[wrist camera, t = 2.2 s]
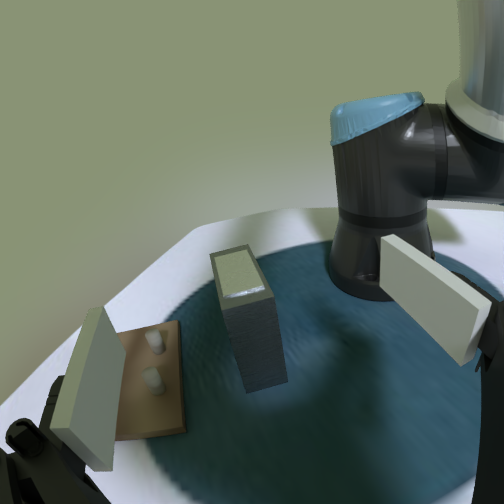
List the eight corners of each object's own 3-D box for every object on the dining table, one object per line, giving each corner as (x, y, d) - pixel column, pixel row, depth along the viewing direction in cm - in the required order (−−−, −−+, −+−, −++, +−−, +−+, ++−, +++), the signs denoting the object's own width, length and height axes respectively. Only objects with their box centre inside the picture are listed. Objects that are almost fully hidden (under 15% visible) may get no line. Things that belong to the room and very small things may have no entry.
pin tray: (179, 325, 38) (171, 303, 36) (186, 432, 24) (172, 410, 22) (96, 343, 37) (84, 323, 35) (73, 443, 22) (53, 423, 21)
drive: (263, 321, 36) (247, 242, 32) (287, 382, 27) (274, 294, 23) (230, 329, 36) (209, 252, 31) (246, 393, 27) (220, 308, 23)
